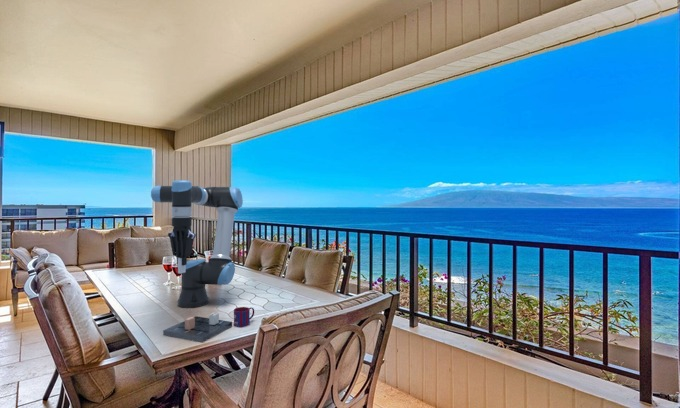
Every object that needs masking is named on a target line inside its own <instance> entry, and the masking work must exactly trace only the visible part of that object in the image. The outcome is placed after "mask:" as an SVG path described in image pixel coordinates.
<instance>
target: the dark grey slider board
mask: <svg viewBox="0 0 680 408" xmlns="http://www.w3.org/2000/svg"><path fill="white" fill-rule="evenodd" d="M192 317H193V316H192ZM193 318H195V327H194V328H192V329H190V330H187V329H185V320H184V321H182V322H180V323H177V324H175V325H173V326H170V327H168V328H165V329H163V331H162V333H163V334H162V336H166V337H171V338H177V339H182V340H187V341H192V340H193V342H199V343H205V342H206V341H208V340H210V339H212V338H213V337H216V336H217V335H219V334H221V333H223V332H225V331H226V330H228V329H231V328H233V321H229V320H223V319H219V323H217V324H215V325H211V324H209V317H203V316H196V315H195V316H194V317H193Z"/></svg>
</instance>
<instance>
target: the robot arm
mask: <svg viewBox="0 0 680 408" xmlns="http://www.w3.org/2000/svg"><path fill="white" fill-rule="evenodd" d="M150 197H151V200H152V201H153V202H155V203H161V204H162V203H169V204H170V203H171V217H172V218H171V226H172V227H173V229H172V231H171V232H169V233H167V236H168V237H169V242H170V247H171V253H172V256H175V257H176V264H177V274H181V291H180V293H179V297H178V300H177V307H180V308H185V309H189V308H198V307H202V306H206V305H207V304H208V303H209V301H210V299H209V296H208V293H207V289H206V285H212V286H213V285H215V286H216V285H218V286H224V285H225V286H226V285H229V284H230V283H232V281H233V278H234V276H235V273H236V272H235V271H236V265H235V263H234V262H232V261H233V259H232V257H230V254H231V246H232V237H233V231H234V230H233V228H234V222H235V215H236V213H238V211H239V210H238V209H240V208H242V206H243V201H244V200H243V194H242V191H241V190H240V188H239V187H236V186H207V187H201V186H199V185H196V186H195V185H192V182H191V180H180V179H179V180H176V179H175V180H173V181H172V183H171V185H154V186H153V187H152V189H151V191H150ZM192 204H194V205H196V206H202V207H203V206H204V207H208V208H215V210H216V211H217V212H218V213H217V214H218V215H217V222H216V229H215V236H214V244H213V250H212V255H211V256H210V257H208V261H206V259H205V258H197V259H191V260H187V259H188V257H190V256H191V255H192V252H193V251H192V250H193V246H194V240H195V238H196V236H197V234H196V233H193V232H192V230H191V227H192V225H193V224H192V221H193V220H192V215H193V213H192Z"/></svg>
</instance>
